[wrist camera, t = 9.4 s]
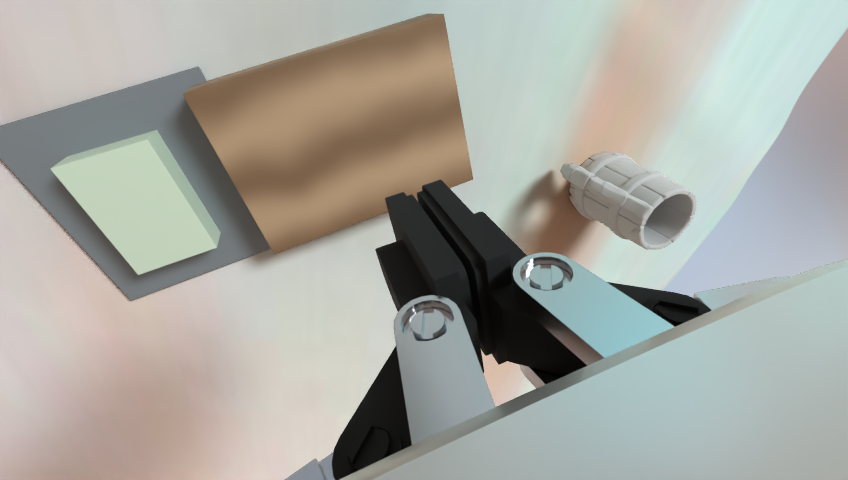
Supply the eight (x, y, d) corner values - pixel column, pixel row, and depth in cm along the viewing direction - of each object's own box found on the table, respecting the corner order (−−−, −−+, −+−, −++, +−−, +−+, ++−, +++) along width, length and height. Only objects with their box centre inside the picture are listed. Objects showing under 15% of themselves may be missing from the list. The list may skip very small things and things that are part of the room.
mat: (-20, 131, 25) (-24, 133, 25) (198, 66, 27) (197, 67, 27) (132, 297, 33) (130, 300, 33) (290, 238, 35) (290, 240, 35)
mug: (598, 220, 47) (684, 275, 37) (527, 191, 41) (605, 248, 31) (636, 162, 44) (739, 205, 34) (565, 124, 39) (664, 162, 29)
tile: (147, 139, 26) (156, 129, 28) (49, 168, 25) (67, 156, 27) (217, 247, 31) (220, 232, 33) (138, 275, 30) (147, 257, 32)
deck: (192, 85, 27) (182, 94, 24) (427, 13, 30) (443, 14, 27) (274, 233, 35) (274, 254, 32) (457, 166, 37) (473, 179, 34)
